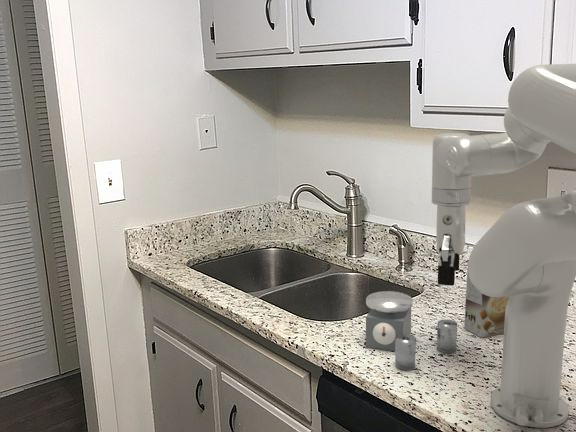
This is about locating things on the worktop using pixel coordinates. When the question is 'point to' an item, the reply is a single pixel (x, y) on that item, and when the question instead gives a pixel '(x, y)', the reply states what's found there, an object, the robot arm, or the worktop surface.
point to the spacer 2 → (446, 336)
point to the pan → (389, 301)
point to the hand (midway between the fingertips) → (448, 277)
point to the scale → (386, 328)
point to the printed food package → (484, 312)
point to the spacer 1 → (405, 352)
